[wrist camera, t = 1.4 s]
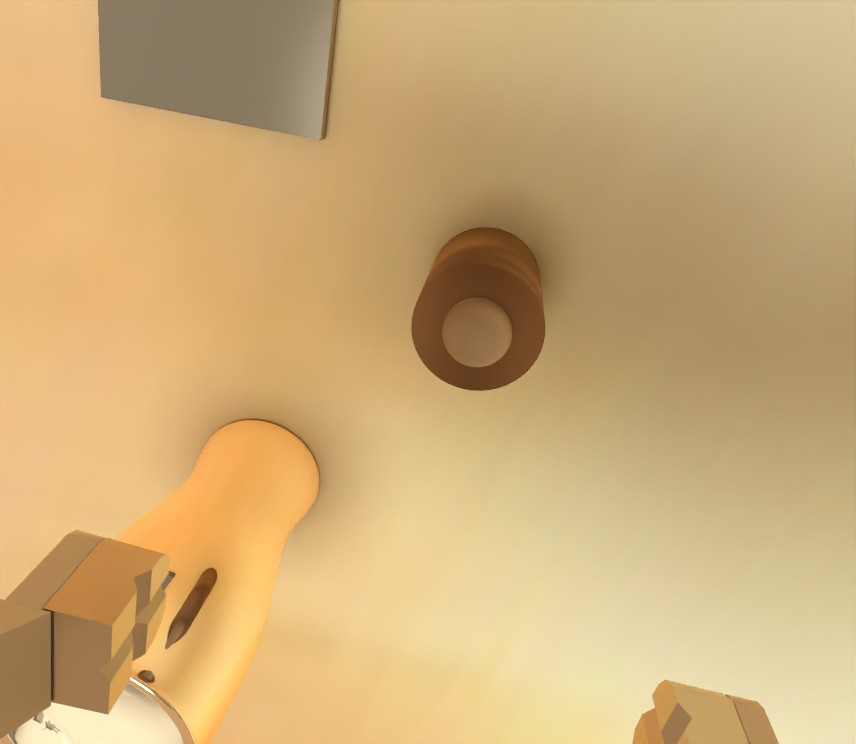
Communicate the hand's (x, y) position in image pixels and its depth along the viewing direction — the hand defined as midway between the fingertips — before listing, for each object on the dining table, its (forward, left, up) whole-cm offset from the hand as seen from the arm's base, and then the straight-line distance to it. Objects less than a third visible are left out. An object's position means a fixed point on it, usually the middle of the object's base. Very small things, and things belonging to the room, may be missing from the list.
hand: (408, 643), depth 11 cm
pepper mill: (0, 0, -20) cm, 20 cm away
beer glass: (+9, +12, -20) cm, 25 cm away
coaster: (+12, -9, -20) cm, 25 cm away
